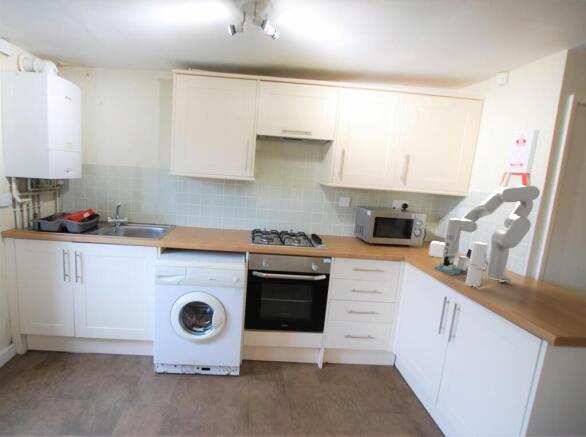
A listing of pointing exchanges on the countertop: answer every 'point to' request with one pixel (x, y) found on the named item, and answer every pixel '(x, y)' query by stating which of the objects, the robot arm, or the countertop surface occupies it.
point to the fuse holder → (458, 269)
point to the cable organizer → (436, 249)
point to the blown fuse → (450, 263)
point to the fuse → (462, 262)
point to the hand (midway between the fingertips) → (448, 265)
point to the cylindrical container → (476, 263)
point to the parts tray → (453, 272)
